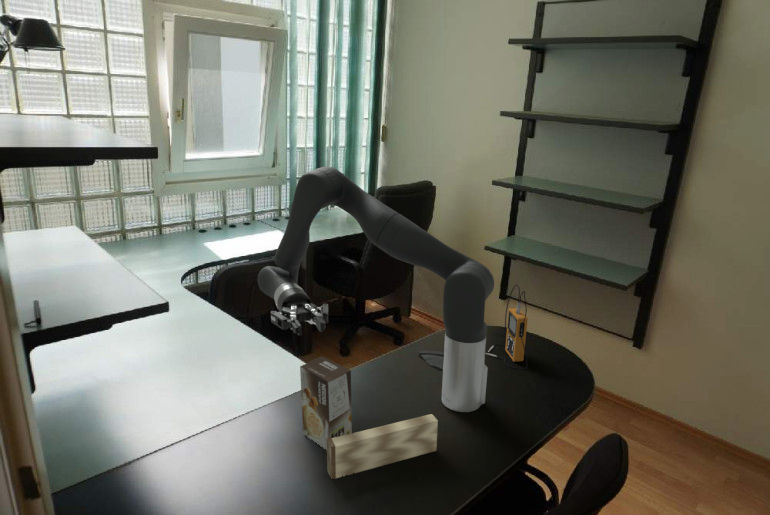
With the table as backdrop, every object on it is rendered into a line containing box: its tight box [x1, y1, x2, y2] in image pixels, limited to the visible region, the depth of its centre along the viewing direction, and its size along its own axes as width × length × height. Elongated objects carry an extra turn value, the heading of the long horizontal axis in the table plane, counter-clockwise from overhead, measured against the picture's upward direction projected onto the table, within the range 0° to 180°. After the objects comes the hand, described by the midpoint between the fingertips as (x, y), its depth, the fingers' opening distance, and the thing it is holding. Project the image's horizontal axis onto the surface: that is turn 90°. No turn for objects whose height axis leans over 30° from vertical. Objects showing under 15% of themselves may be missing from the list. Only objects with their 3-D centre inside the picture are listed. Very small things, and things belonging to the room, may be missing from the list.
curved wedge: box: [417, 350, 444, 372], centre depth 140 cm, size 8×14×2 cm, turn 47°
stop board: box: [326, 413, 439, 480], centre depth 100 cm, size 22×3×7 cm, turn 113°
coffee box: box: [299, 355, 353, 451], centre depth 105 cm, size 9×6×16 cm
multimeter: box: [485, 284, 529, 370], centre depth 140 cm, size 15×10×20 cm
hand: (311, 329), depth 111 cm, fingers open, 4 cm apart
